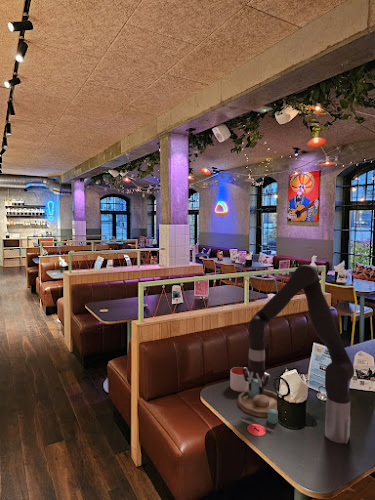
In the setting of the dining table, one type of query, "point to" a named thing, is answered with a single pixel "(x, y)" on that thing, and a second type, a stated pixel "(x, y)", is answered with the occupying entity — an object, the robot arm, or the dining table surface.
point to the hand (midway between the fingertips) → (255, 391)
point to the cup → (238, 379)
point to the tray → (249, 403)
